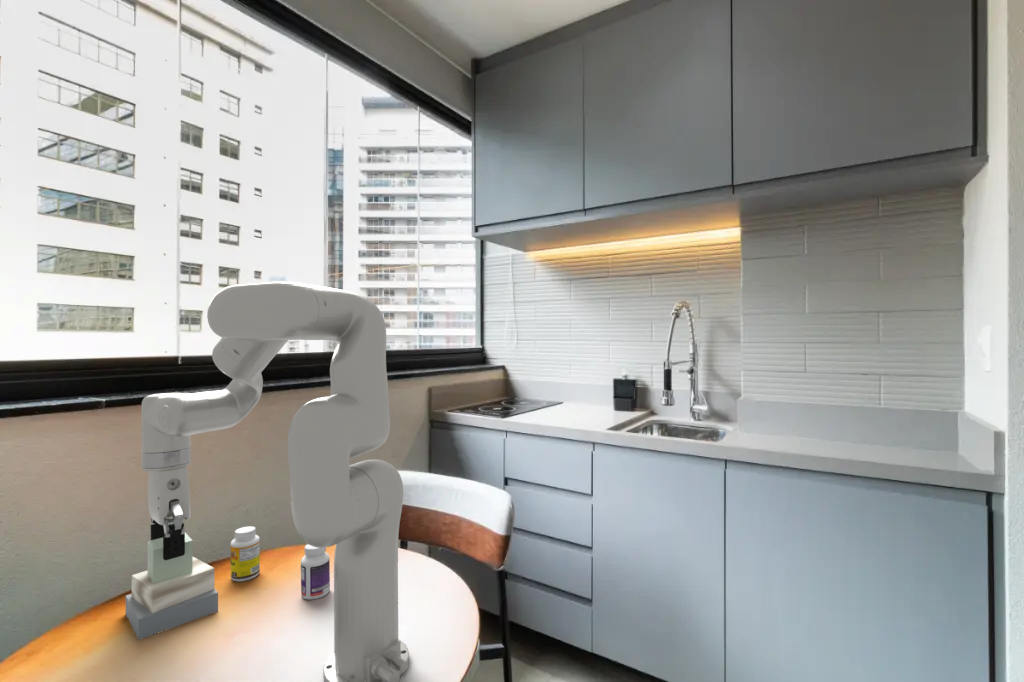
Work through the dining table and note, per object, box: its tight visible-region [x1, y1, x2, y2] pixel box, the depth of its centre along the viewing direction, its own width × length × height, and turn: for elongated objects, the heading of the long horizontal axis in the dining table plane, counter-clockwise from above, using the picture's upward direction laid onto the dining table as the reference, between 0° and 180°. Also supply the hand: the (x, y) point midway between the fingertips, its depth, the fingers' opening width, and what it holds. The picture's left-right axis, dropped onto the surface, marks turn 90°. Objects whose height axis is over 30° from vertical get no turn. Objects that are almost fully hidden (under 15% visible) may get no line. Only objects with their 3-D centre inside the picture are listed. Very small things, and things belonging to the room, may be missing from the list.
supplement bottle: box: [230, 525, 261, 583], centre depth 104 cm, size 6×6×10 cm
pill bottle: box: [300, 543, 331, 601], centre depth 96 cm, size 5×5×10 cm
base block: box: [125, 588, 219, 640], centre depth 90 cm, size 12×12×4 cm
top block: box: [131, 556, 216, 613], centre depth 90 cm, size 10×10×4 cm
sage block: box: [146, 531, 194, 584], centre depth 90 cm, size 6×6×6 cm
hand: (167, 550), depth 89 cm, fingers open, 9 cm apart
